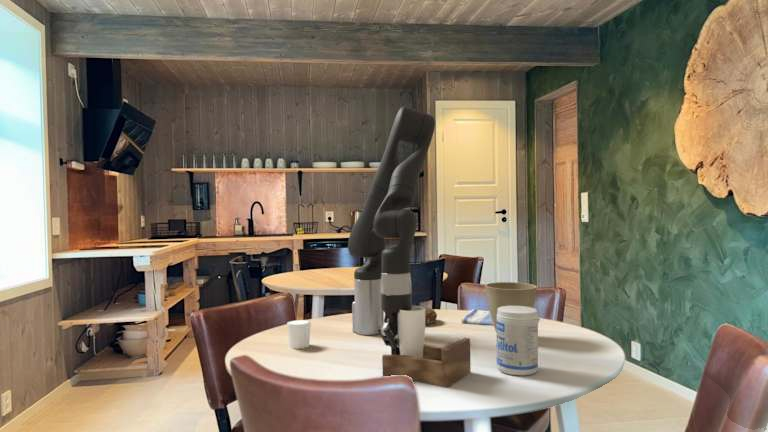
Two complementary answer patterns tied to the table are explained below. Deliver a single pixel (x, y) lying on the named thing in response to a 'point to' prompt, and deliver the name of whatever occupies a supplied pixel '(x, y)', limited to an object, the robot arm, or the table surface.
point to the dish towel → (478, 318)
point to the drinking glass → (411, 331)
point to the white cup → (299, 333)
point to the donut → (430, 315)
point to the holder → (432, 364)
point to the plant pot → (509, 296)
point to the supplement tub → (517, 340)
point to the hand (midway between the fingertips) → (396, 361)
